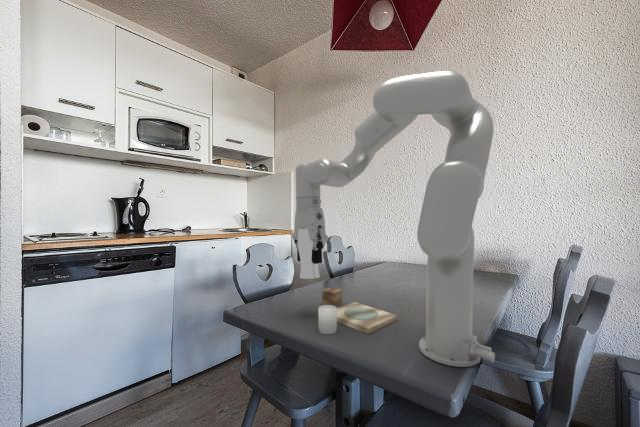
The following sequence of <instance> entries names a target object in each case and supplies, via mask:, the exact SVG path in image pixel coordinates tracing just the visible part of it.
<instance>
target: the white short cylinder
mask: <svg viewBox="0 0 640 427" xmlns="http://www.w3.org/2000/svg"><path fill="white" fill-rule="evenodd" d="M337 308H338V306H337V307H335V306H333V305H322V304H321V305H319V307H318V309H317V310H318V313H317V314H318V317H317V319H318V324H317V325H318V330H317V331H318V332H319V333H320V334H323V335H333V334H335V333H337V331H338V322H337Z"/></svg>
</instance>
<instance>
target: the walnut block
mask: <svg viewBox="0 0 640 427" xmlns="http://www.w3.org/2000/svg"><path fill="white" fill-rule="evenodd" d="M321 292H322V293H321V296H322V298H321V306H322V305H333V306H335V307H337V308H338V307H339V306H340V305H342V304H343V289H341V288H335V287H331V286H330V287H327V288H325V289H323V290H322V291H321ZM338 305H339V306H338Z"/></svg>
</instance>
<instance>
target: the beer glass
mask: <svg viewBox="0 0 640 427" xmlns="http://www.w3.org/2000/svg"><path fill="white" fill-rule="evenodd" d="M318 235H319V234H317V236H316V239H319V237H318ZM319 236H320V235H319ZM316 243H317V244H318V243H319V242H316ZM297 249H298V250H299V256H300V261H299V262H300V273H299V278H300V279H303V280H315V279H319V278H320V270H319V263H318V264H313V250H314V247H313V242H312V241H311V240H310V237H309V233H308V229H298V248H297Z"/></svg>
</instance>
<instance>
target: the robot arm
mask: <svg viewBox="0 0 640 427" xmlns="http://www.w3.org/2000/svg"><path fill="white" fill-rule="evenodd" d="M372 106H373V108H374V111H373V112H371V113H370V115H369V116H367V117H366V119H364V120H363V121H362V122H361V123H360V124H359V125H357V126H356V127H355V129H354V132H353V134H354V138H355V144H354V147H353V148H352V150H351V152H350V153H348V155H347V156H345V157H344V158H343V159H342V160H341V161H340V162H339V161H335V160H331V159H328V158H320V159H317V160H314V161H311V162H306V163H305V162H304V163H300V164H297V165H296V167H295V204H296V205H295V206H296V209H295V214H294V232H293V234H292V235H291V238H292V240H293V242H294V244H295V248H296V249H297V250H296V252H297V253H296V254H297V255H296V256H297V260H296V261H297V262H301V261H300V256H299V250H298V229H308V233H309V237H310V240H311V241H312V242H313V247H314V250H313V264H318V265H319V264H322V263H323V250H324V247H325V245H326V244H327V242H328V240H329V235H327V233H326V222H325V214H324V211H323V208H322V207H321V203H322V200H321V186H325V187H334V188H342V187H343V188H344V187H345V186H348V185H349V183H351V182H353V181H354V180H355V179H356V178H358V177H359V176H360V175H361V174H363V172H364V171H365V170H366V169H367V168H368V166H369V165H370V164H371V162H372V160H373V158H374V156H375V154H377V152H379V151H380V150H381V149H382V148H383V147H384V146H386V145H387V144H388V143H389V142H390V141H391V140H393V139H394V138H395V137H396V136H397V135H399V134H400V133H401V132H402V131H403V130H405V129H406V128H407V127H409V126H410V125H411V124H412V123H413V122H414V121H415V120H416V119H417V117H418V116H420V115H430V116H431V117H432V118H433V119H434V120H435V122H437V124H439V125H441V126H443V127H444V128H446V129H447V130H448V131H449V133H450V136H449V139H448V143H447V147H446V150H445V157H444V161H443V162H442V163H440V164H439V165H437V166H436V167H435V168H434V169H433V171H432V172H431V174H430V175H429V177H428V180H427V184H426V187H425V192H424V196H423V202H422V205H421V206H422V207H421V211H420V216H419V221H418V225H417V232H416V235H417V242H418V246H419V247H420V249H421V251H422V252H423V253H424V254H425V255H426V256H427V261H426V284H425V285H426V286H425V287H426V288H425V289H426V294H425V295H426V297H425V298H426V299H425V300H426V303H425V304H426V309H425V310H426V312H425V313H426V316H425V317H426V320H425V323H426V324H425V325H426V326H425V336H424V337H421V339H420V340H419V342H418V348H419V350H420V352H421V354H423V355H424V356H425V357H427V358H428V359H430V360H432V361H435V362H437V363H439V364H442V365H446V366H450V367H456V368H469V367H470V368H471V367H474V366H477V365H478V364H480V362H481V359H483V361H487V362H489V363H495V359H496V354H495V352H493V351H492V347H490V346H486V345H483V344H480V342H478V335H474V334H473V332H474V331H473V328H474V327H473V326H474V325H473V321H474V319H473V318H474V317H473V316H474V315H473V313H474V312H473V311H474V309H473V305H474V301H473V299H474V296H473V295H474V292H473V291H474V258H475V257H474V256H475V233H474V230H473V228H474V227H473V222H474V218H475V214H476V210H477V206H478V201H479V200H480V198H481V197H482V195H483V191H484V188H485V187H484V186H485V178H486V172H487V169H488V168H487V167H488V163H489V159H490V152H491V147H492V144H493V143H492V142H493V138H494V121H493V118H492V116H491V113H490V112H489V111H488V109H487V108H486V107H485V106H484V105H483V104H482V103H480V102H479V101H478V100H476V99H475V98H474V97H473V96H472V93H471V89H470V85H469V84H468V81H467V79H466V78H465V77H464V76H463V75H462V74H460V73H458V72H457V71H452V70H450V71H449V70H439V71H430V72H425V73H424V72H423V73H418V74H417V73H416V74H409V75H402V76H397V77H394V78H390V79H389V80H385V81H384V82H383V83H381V85H379V86H378V87H377V89H376V90H375V92H374V94H373V97H372ZM317 234H319V235H320V236H319V235H318V237H319V239H316V236H317ZM316 242H319V243H318V244H317V243H316Z"/></svg>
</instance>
